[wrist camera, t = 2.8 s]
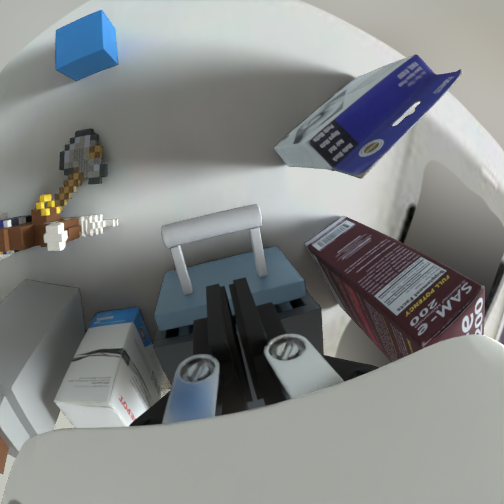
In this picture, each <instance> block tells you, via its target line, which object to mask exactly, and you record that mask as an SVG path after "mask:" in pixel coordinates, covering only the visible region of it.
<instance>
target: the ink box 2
mask: <svg viewBox="0 0 504 504" xmlns="http://www.w3.org/2000/svg"><path fill="white" fill-rule="evenodd" d="M461 75H462V70H458V71H457V72H452V73H447V74H439V75H436V74H435V73H434V72H433V71H432V70H431V69H430V68H429V67H428V66H427V65H426V63H425V62H424V61H423V60H422V59H421V58H420V57H419V56H418V55H413V56H410V57H407V58H404V59H401V60H399V61H396V62H394V63H391V64H388V65H386V66H383V67H381V68H378V69H376V70H374V71H371V72H369V73H367V74H364V75H361V76H359V77H357V78H355V79H354V80H353V81H351V82H350V83H349V84H347V85H346V86H345V87H344V88H342V89H341V90H340V91H339V92H337V93H336V94H335V95H334V96H333V97H331V98H330V99H329V100H328V101H327V102H326V103H324V104H323V105H322V106H321V107H319V108H318V109H317V110H316V111H315V112H314V113H312V114H311V115H310V116H309V117H308V118H307V119H306V120H304V121H303V122H302V123H301V124H300V125H298V126H297V127H296V128H295V129H294V130H293V131H291V132H290V133H289V134H288V135H287V136H286V137H285V138H284V139H283V140H282V141H280V142H279V143H278V144H277V145H276V146H275V147H274V149H275V151H276V152H277V153H278V154H279V156H280V157H281V158H282V159H283V161H284V162H285V163H286V165H287V166H289V167H303V168H317V169H328V170H332V171H338V172H341V173H345V174H348V175H351V176H354V177H357V178H360V179H361V178H364V176H365V175H366V174H367V173H368V172H369V171H370V170H371V169H372V168H373V167H374V165H375V164H376V163H377V162H378V161H379V160H380V159H381V158H382V157H383V156H384V155H385V154H386V153H387V152H388V151H389V150H390V149H391V148H392V147H393V146H394V145H395V144H396V143H397V142H398V141H399V140H400V139H401V138H402V137H403V136H404V135H405V134H406V133H407V132H408V131H409V130H410V129H411V128H412V127H413V126H414V125H415V124H416V123H417V122H418V121H419V120H420V119H421V118H422V117H423V116H424V115H425V114H426V113H427V112H428V111H429V110H430V109H431V108H432V107H433V106H434V105H435V104H436V103H437V102H438V101H439V100H440V99H441V97H442V96H443V95H444V94H445V93H446V92H447V91H448V90H449V89H450V88H451V87H452V85H453V84H454V83H455V82H456V81H457V80H458V79H459V77H461ZM417 102H421V103H420V104H419V105H417V106H416V108H415V112H414V113H412V114H411V115H408V116H406V117H405V118H404V119H403V120H402V121H401V122H400V123H399V124H398V125H396V126H392V125H393V124H394V123H395V122H396V121H397V120H398V119H399V118H400V117H401V116H403V115H404V114H405V113H406V112H407V111H408V110H409V109H410V108H411V107H412V106H413V105H414V104H415V103H417Z"/></svg>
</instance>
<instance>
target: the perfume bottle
mask: <svg viewBox="0 0 504 504" xmlns="http://www.w3.org/2000/svg"><path fill="white" fill-rule="evenodd" d="M85 334H86V331H85V325H84V319H83V312H82V305H81V298H80V289H79V288H74V287H68V286H61V285H55V284H49V283H43V282H37V281H32V280H25V281H23V282H22V283H21V284H20V285H19V286H18V287H17V288H16V289H14V290H13V291H12V292H11V293H10V294H9V295H8V296H7V297H6V298H5V299H4V300H3V301H2V302H1V303H0V473H2V474H3V472H4V467H5V462H6V458H7V454H9V455H11V456H13V457H15V458H16V457H17V455H18V453H19V451H20V449H21V447H22V446H23V444H24V443H25V442H26V441H27V440H28V439H30V438H32V437H33V436H36V435H38V434H41V433H44V432H47V431H51V430H53V429H54V426H55V424H56V421H57V418H58V415H59V412H60V409H59V407H58V406H57V405H56V403H55V402H54V399H55V397H56V395H57V392H58V390H59V388H60V386H61V383H62V381H63V379H64V377H65V374H66V372H67V370H68V368H69V366H70V364H71V362H72V359H73V357H74V355H75V353H76V351H77V349H78V347H79V345H80V343H81V341H82V340H83V338H84V336H85Z"/></svg>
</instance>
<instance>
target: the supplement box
mask: <svg viewBox="0 0 504 504" xmlns="http://www.w3.org/2000/svg"><path fill="white" fill-rule="evenodd" d="M305 246H306V248H307V249H308V251H309V253H310V254H311V256H312V258H313V260H314V261H315V263H316V265H317V267H318V268H319V270H320V272H321V273H322V275H323V277H324V279H325V280H326V282H327V284H328V286H329V288H330V289H331V291H332V293H333V295H334V297H335V298H336V300H337V302H338V304H339V305H340V307H341V308H342V309H343V310H344V311H345V312H346V313H347V314H348V315H349V316H350V317H351V318H352V319H353V320H354V322H355V323H356V324H357V325H358V326H359V327H360V328H361V329H362V330H363V331H364V332H365V333H366V335H367V336H368V337H369V338H370V339H371V340H372V341H373V342H374V343H375V344H376V346H377V347H378V348H379V349H380V350H381V351H382V352H383V353H384V355H385V356H386V357H387V358H388V359H389V360H390V361H391V363H392V362H394V361H396V360H399V359H401V358H403V357H405V356H408V355H410V354H412V353H414V352H417V351H419V350H421V349H423V348H425V347H428V346H430V345H433V344H435V343H438V342H440V341H444V340H447V339H450V338H454V337H459V336H465V335H483V334H484V312H485V309H484V308H485V302H484V301H485V300H484V299H485V295H484V294H485V287H484V286H482V285H480V284H478V283H476V282H475V281H473V280H471V279H469V278H468V277H466V276H464V275H462V274H461V273H459V272H457V271H455V270H453V269H451V268H450V267H448V266H446V265H444V264H442V263H440V262H438V261H437V260H435V259H433V258H431V257H429V256H427V255H425V254H423V253H421V252H419V251H417V250H415V249H413V248H411V247H409V246H407V245H405V244H403V243H401V242H399V241H397V240H395V239H393V238H391V237H389V236H387V235H385V234H383V233H380V232H379V231H376V230H374V229H372V228H370V227H368V226H365V225H363V224H361V223H359V222H357V221H354V220H352V219H350V218H348V217H345V216H342V217H341V218H340V219H338V220H337V221H336V222H334V223H333V224H331V225H330V226H329V227H327V228H326V229H324V230H323V231H322V232H320V233H319V234H317V235H316V236H314V237H313V238H312V239H310V240H309V241H307V242H306V243H305Z"/></svg>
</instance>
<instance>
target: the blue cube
mask: <svg viewBox="0 0 504 504" xmlns="http://www.w3.org/2000/svg"><path fill="white" fill-rule="evenodd" d="M55 53H56V70H57V71H59V72H61V73H62V74H64V75H66V76H68V77H70V78H72V79H73V80H75V81H78V80H80V79H82V78H84V77H87V76H89V75H92V74H94V73H97V72H99V71H102V70H104V69H107V68H110V67H112V66H115V65H118V57H117V46H116V34H115V28H114V26H113V25H112V23H111V22H110V21H109V19H108V18H107V16H106V15H105V13H104V12H103V10H100V11H97V12H95V13H92V14H90V15H87V16H85V17H83V18H80V19H78V20H76V21H74V22H72V23H70V24H68V25H66V26H63V27H62V28H60V29H58V30H56V51H55Z"/></svg>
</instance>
